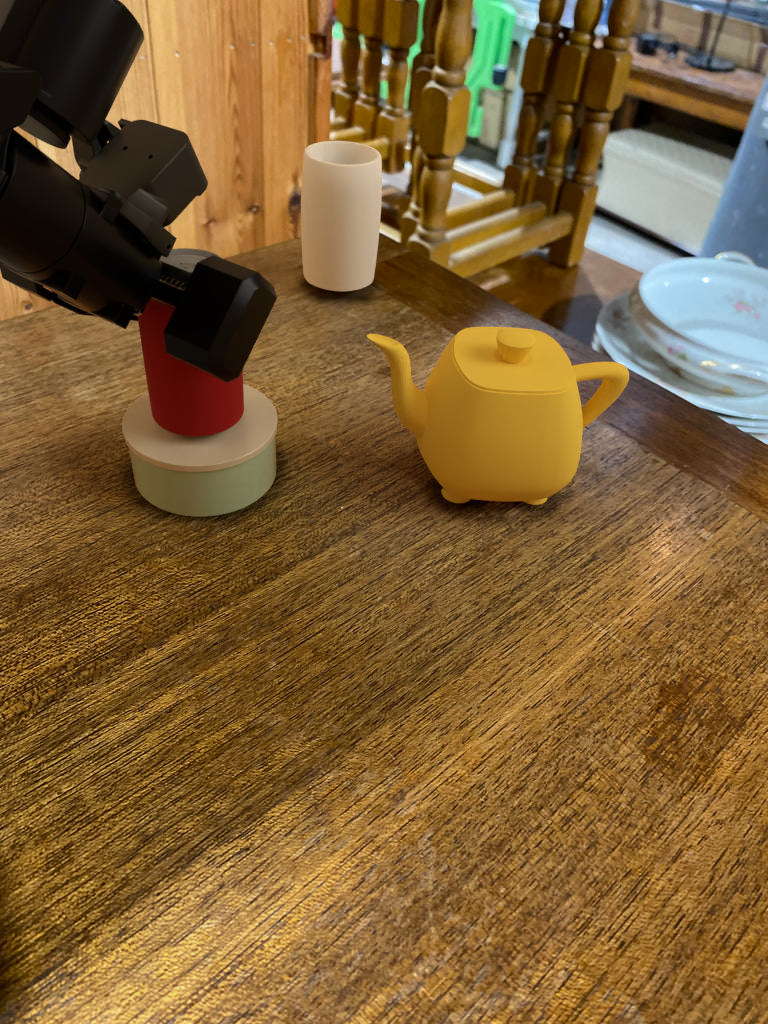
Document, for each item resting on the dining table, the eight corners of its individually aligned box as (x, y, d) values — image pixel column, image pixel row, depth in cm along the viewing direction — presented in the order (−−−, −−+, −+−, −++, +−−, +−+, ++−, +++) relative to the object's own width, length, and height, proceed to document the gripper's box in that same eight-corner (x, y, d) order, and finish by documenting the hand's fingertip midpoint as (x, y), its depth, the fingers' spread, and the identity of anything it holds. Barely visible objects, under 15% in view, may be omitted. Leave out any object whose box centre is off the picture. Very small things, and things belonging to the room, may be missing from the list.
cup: (329, 310, 83) (333, 172, 74) (285, 279, 88) (283, 146, 78) (391, 291, 87) (402, 159, 78) (346, 263, 92) (351, 135, 82)
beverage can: (255, 401, 61) (250, 251, 53) (229, 451, 56) (219, 294, 48) (171, 388, 61) (154, 238, 53) (138, 437, 56) (112, 279, 48)
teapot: (357, 418, 68) (364, 286, 60) (579, 425, 70) (616, 297, 62) (360, 522, 58) (370, 380, 50) (619, 527, 60) (670, 391, 52)
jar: (104, 500, 58) (92, 447, 55) (170, 417, 67) (163, 366, 63) (249, 532, 57) (245, 479, 54) (297, 443, 65) (297, 392, 62)
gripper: (247, 121, 37) (365, 268, 51) (-9, 46, 44) (159, 195, 58) (145, 333, 37) (291, 420, 51) (-95, 225, 44) (94, 329, 58)
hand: (205, 332), depth 55 cm, fingers closed on beverage can, 7 cm apart
